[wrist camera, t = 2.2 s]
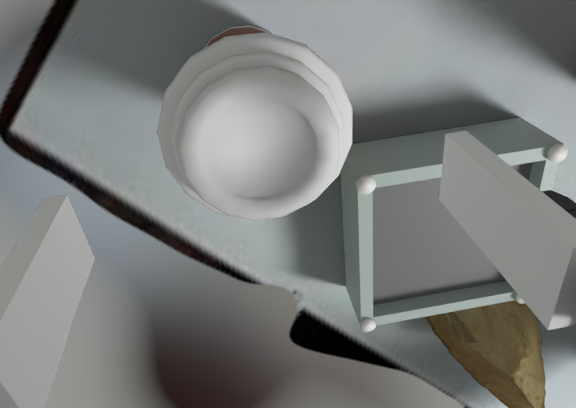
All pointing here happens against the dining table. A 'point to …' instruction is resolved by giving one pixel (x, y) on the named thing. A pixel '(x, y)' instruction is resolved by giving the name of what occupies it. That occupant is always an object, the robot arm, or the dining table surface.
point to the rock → (497, 350)
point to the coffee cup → (255, 125)
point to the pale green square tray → (425, 223)
